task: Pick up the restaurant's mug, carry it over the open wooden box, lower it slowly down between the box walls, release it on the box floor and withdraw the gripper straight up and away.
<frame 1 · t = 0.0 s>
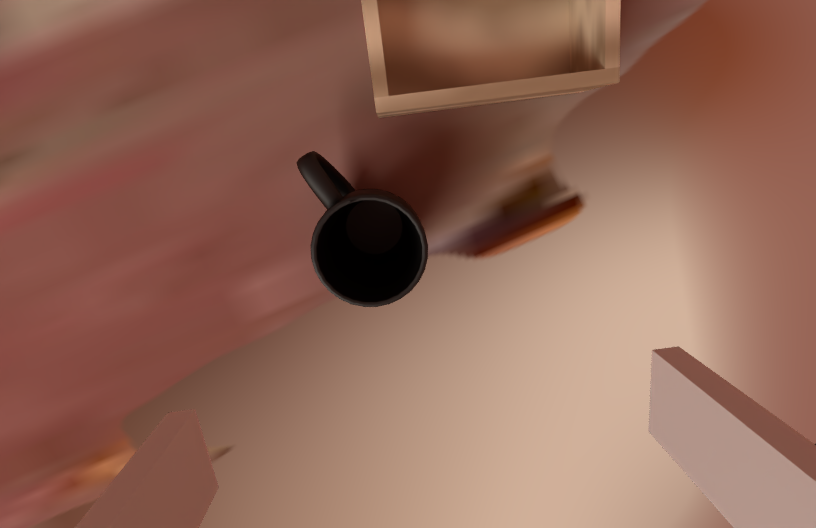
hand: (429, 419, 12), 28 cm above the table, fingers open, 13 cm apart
mug: (363, 208, 39), on the table
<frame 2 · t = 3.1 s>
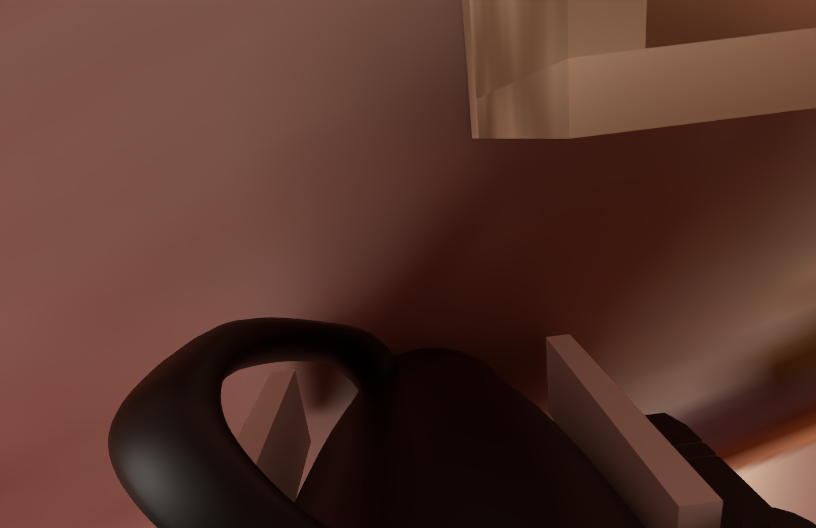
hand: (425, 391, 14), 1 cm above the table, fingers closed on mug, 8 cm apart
mug: (402, 375, 15), on the table, touching gripper
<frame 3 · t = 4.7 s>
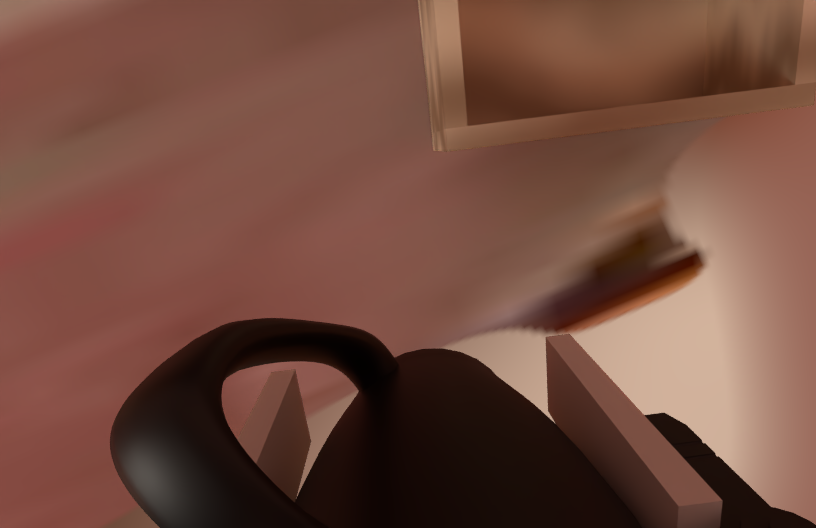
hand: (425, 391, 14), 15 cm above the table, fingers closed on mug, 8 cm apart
mug: (402, 375, 15), point 14 cm above the table, touching gripper
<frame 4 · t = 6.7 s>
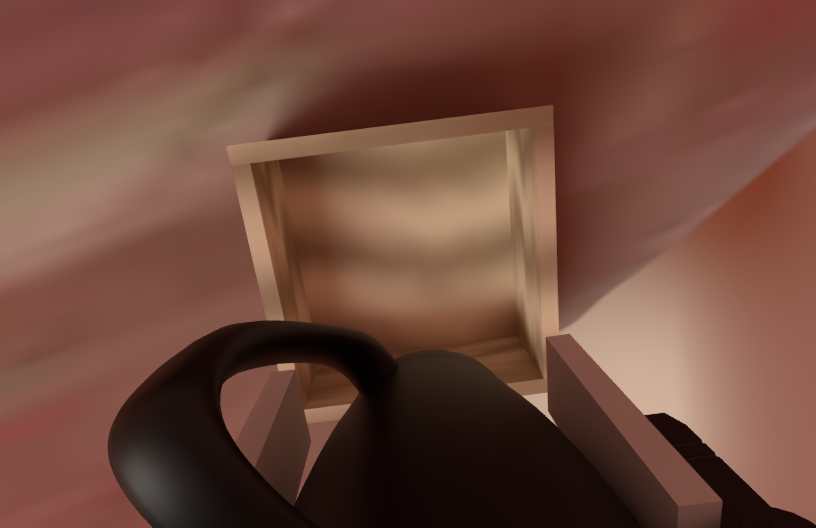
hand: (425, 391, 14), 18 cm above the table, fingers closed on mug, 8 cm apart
open wooden box: (405, 250, 31), on the table
mug: (402, 376, 15), point 17 cm above the table, touching gripper
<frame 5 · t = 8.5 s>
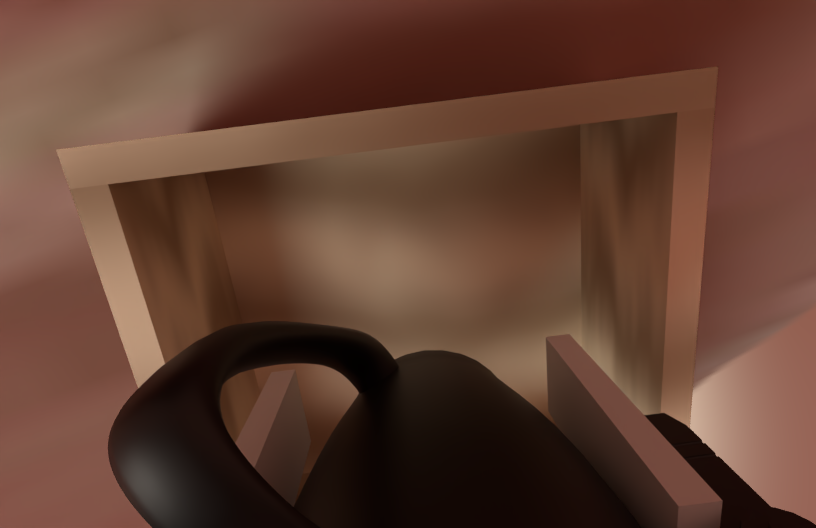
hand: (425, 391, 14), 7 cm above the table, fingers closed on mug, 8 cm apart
open wooden box: (413, 309, 20), on the table
mug: (402, 377, 15), point 6 cm above the table, touching gripper
when the fingers open (4 cm above the table, at t = 10.0 s): mug drops 2 cm, resting on open wooden box.
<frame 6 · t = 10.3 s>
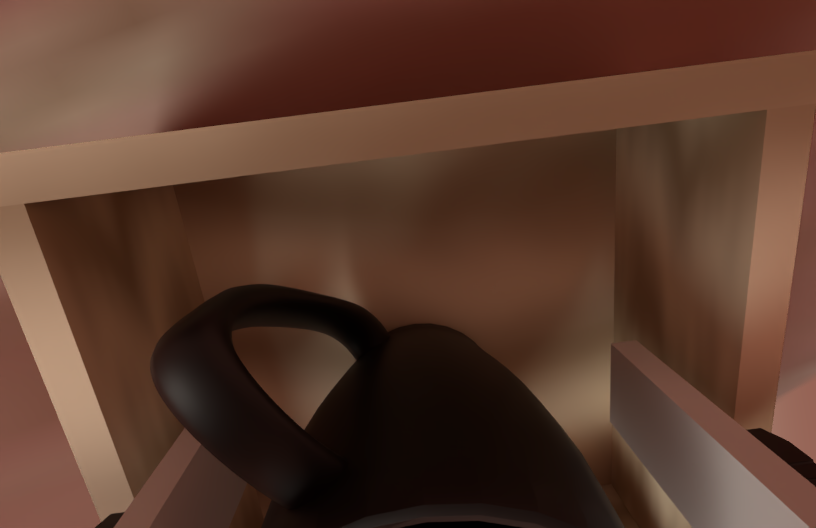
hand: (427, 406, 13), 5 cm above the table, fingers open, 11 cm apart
open wooden box: (418, 339, 17), on the table
mug: (396, 348, 17), point 1 cm above the table, touching open wooden box
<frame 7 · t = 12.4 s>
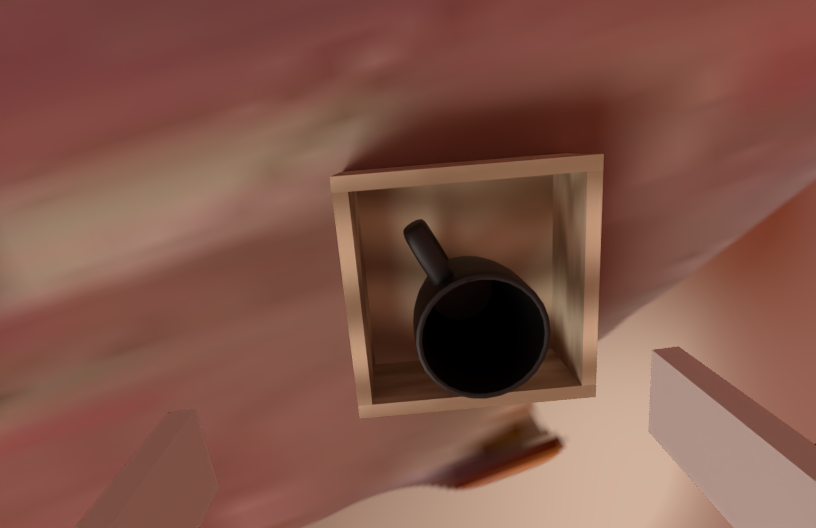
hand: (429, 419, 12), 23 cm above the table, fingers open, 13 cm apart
open wooden box: (457, 268, 36), on the table
mug: (448, 269, 35), point 1 cm above the table, touching open wooden box
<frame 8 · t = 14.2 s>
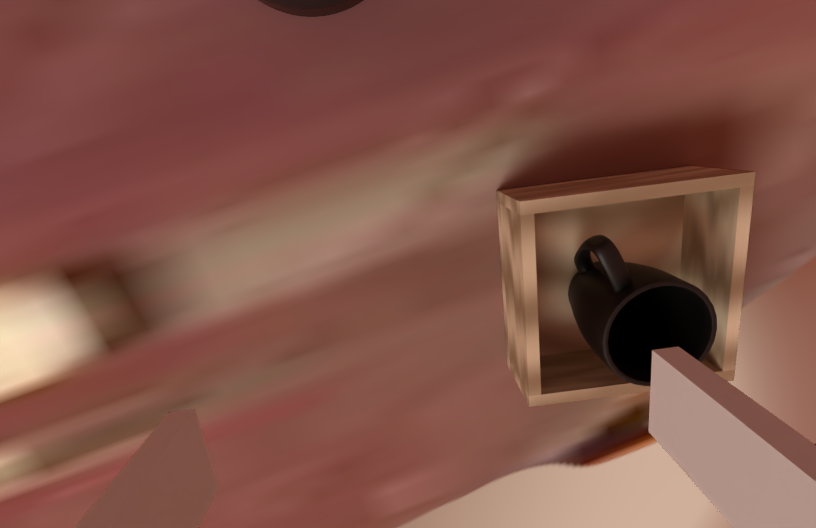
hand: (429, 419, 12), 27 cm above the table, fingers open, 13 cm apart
open wooden box: (593, 270, 40), on the table
mug: (587, 273, 39), point 1 cm above the table, touching open wooden box
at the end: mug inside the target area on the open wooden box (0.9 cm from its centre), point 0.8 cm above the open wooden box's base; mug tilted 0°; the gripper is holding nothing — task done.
